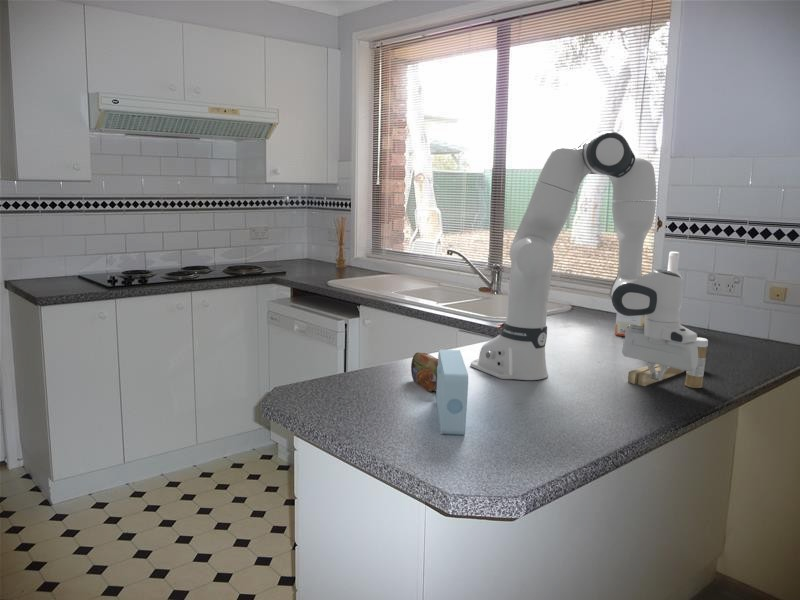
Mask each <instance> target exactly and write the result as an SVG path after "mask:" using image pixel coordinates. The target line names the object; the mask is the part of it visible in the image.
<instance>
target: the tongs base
mask: <svg viewBox="0 0 800 600" xmlns="http://www.w3.org/2000/svg"><path fill="white" fill-rule="evenodd" d="M659 366H660V365H659V364H656V365H655V366H654V368H658V367H659ZM646 371H649V369H648V366H647V365H645V366H642V367H639V368H637V369H632V370H630V371H628V375H627V383H630V384H634V385H635V384H638V377H639V374H640V373H643V372H646Z"/></svg>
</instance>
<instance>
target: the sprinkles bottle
mask: <svg viewBox="0 0 800 600" xmlns="http://www.w3.org/2000/svg"><path fill="white" fill-rule="evenodd" d="M693 342H695V343H696V345H697V347H698V364H697V367H696V368H695V369H694V370H692V371H685V372H686V375H685V382H684V385H685V386H686V387H687V388H692V389H701V388H703V381H704V380H703V378H704V373H705V367H706V361H707V360H706V359H707V358H706V357H707V356H706V355H707V349H708V346H709V340H708V339H707V338H705V337H701V336H699V337H698V336H697V340H696V341H693Z"/></svg>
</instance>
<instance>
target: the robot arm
mask: <svg viewBox="0 0 800 600" xmlns="http://www.w3.org/2000/svg"><path fill="white" fill-rule="evenodd" d="M588 175H600V176H607V177H608V178H609V180H610V181H611V185H612V200H611V202H612V204H611V207H612V208H611V210H612V211H611V212H612V219H613V220H612V221H613V225H614V230H615V233H616V235H617V240H618V268H617V275H616V277H615V279H614V281H613V283H612V285H611V287H610V291H609V295H610V299H611V303H612V306H613V308H614V309H615V310H616V312H617V311H618V312H619V313H620V314H622V315H625V316H639V315H645V325H644V327H643V326H636V325H630V326H628V327H627V328H626V329H625V336H624V339H623V343H622V348H621V353H622V355H623V357H625V358H629V359H634V360H638V361H642V362H647V365H646V366H648V369H649V371H650V372H651V374H650V378H651V379H654V380H658V382H661V381H663V380H662V378H663V374H664V372H665V371H666V370H667V369H668V367H672V368H676V369H680V370H684V372H687V371H692V370H694V369H695V368H696V367H697V364H698V347H697V345H696V343H695V342H693V341H696V340H697V337H698V334H697V332H694V331H693V330H690V329H689V328H687V327H685V326H683V325H682V324H681V317H680V311H681V308H682V306H683V299H684V297H683V296H684V283H683V282H684V281H683V278H682V279H681V277H680V276H679V275H677V274H676V273H673V272H670V271H667V270H668V269H667V270H665V269H661V268H660V269H659V268H658V269H657V268H656V269H653V270H652V271H650V272H648V273H646V274H645V275H642V273H643V272H642V271H643V269H642V265H643V249H644V248H643V247H644V243H645V240H646V237H647V235H648V234H649V232H650V230H651V228H652V226H653V224H654V223H653V222H654V221H655V220H654V219H655V214H656V207H657V182H656V173H655V169H654V166H653V164H652V163H651V162H650V161H649V160H647V159H645V158H640V157H636V156H635V154H634V152H633V150H632V148H631V147H630V145H629V143H628V141H627V140H626V138H625V137H624V136H623V135H621V134H620V133H619V132H615V131H611V130H610V131H609V130H608V131H607V130H606V131H600V132H596V133H595V134H593V135H591V136H590V137H589V138H587V139H586V140H585V141H584V142H583V143H582V144H580V145H579V146H578V147H572V146H558V147H556V148H554V149H553V150H552V151H551V153H550V155H549V156H548V158H547V159H546V161H545V163H544V165H543V166H542V170H541V172H540V173H539V176H538V178H537V181H536V184H535V186H534V188H533V192H532V194H531V197H530V199H529V202H528V205H527V208H526V210H525V212H524V215H523V217H522V219H521V221H520V224H519V226H518V228H517V230H516V231H515V232H516V233H515V235H514V238H513V240H512V243H511V245H510V248H509V251H508V252H509V253H508V254H509V259H510V271H509V272H510V273H509V283H508V290H507V301H506V302H507V303H506V316H505V322H502V323H501V324H497V326H498V327H497V329H499V330H500V332H499V334H498V335H497V336H495V337H494V338H492V339H490V340H489V341H487V342H486V343H485V344H483V345H482V346H481V348H480V351H479V354H478V356H479V357H478V358H477V359H474V360H471V362H470V365H469V366H470V367H472V368H474V369H476V370H479V371H481V372H484V373H486V374H489V375H490V376H491V375H492V376H494V377H496V378H499V379H501V380H521V381H536V380H543V379H546V378H547V377H548V376H549V373H548V368H547V363H546V362H547V361H546V345H547V344H546V343H547V337H548V326H547V314H548V302H549V294H550V289H551V283H552V276H553V269H554V260H555V259H554V258H555V255H554V250H553V248H554V246H555V244H556V242H557V239H558V238H559V235H560V234H561V231H562V230H563V228H564V225H566V223H567V220H568V217H569V215H570V213H571V210H572V207H573V204H574V202H575V199H576V197H577V194H578V192H579V189H580V186H581V183H582V182H583V181H584V179H585V177H587V176H588ZM629 327H630V328H629ZM656 364H659V365H660V366H659V368H660V369H661V370H660V372H659V373H658V372H656V371H655V368H654V366H655V365H656Z"/></svg>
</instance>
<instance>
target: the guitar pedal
mask: <svg viewBox="0 0 800 600" xmlns="http://www.w3.org/2000/svg"><path fill="white" fill-rule="evenodd" d="M437 355H438V358H437V359H438V366H437V391H435V393H436V396H435V401H436V408H437V409H436V410H437V415H438V416H437V418H438V423H439V428H440V429H439V430H440V434H441V435H453V436H455V435H458V436H465V435H466V429H467V426H466V424H467V410H468V391H469V373H468V370H467V367H466V364H465V361H464V358H463V355H462V352H461V349H460V350H459V349H438V354H437Z"/></svg>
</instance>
